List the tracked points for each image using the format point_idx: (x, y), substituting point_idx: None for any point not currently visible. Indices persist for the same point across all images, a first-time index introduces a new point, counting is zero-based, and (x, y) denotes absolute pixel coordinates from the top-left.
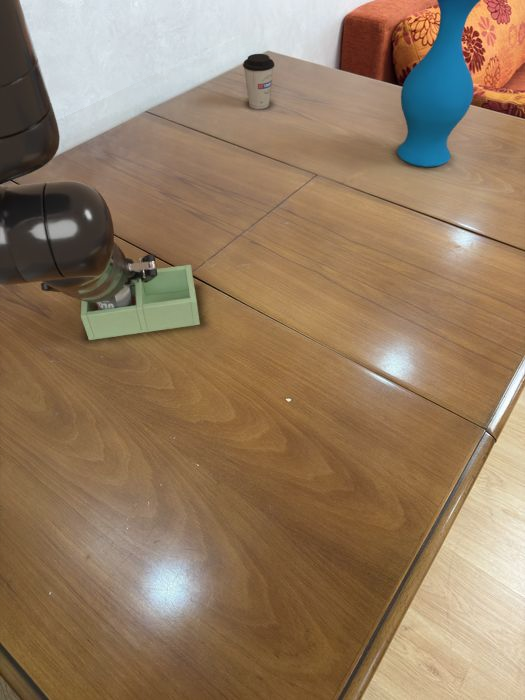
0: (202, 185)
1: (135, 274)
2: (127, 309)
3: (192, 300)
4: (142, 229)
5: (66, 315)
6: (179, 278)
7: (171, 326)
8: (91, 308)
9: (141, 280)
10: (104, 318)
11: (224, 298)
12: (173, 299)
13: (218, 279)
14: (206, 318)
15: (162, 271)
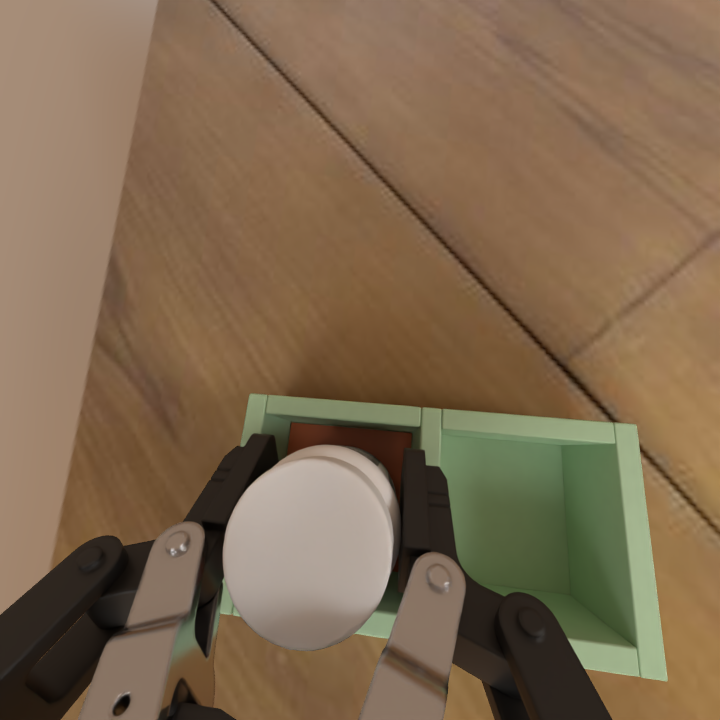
0: (610, 23)
1: (462, 658)
2: (378, 633)
3: (648, 670)
4: (441, 158)
5: (216, 442)
6: (563, 442)
7: None
8: None
9: (484, 684)
10: None
11: (670, 507)
12: (511, 475)
13: (651, 411)
14: None
15: (524, 435)
